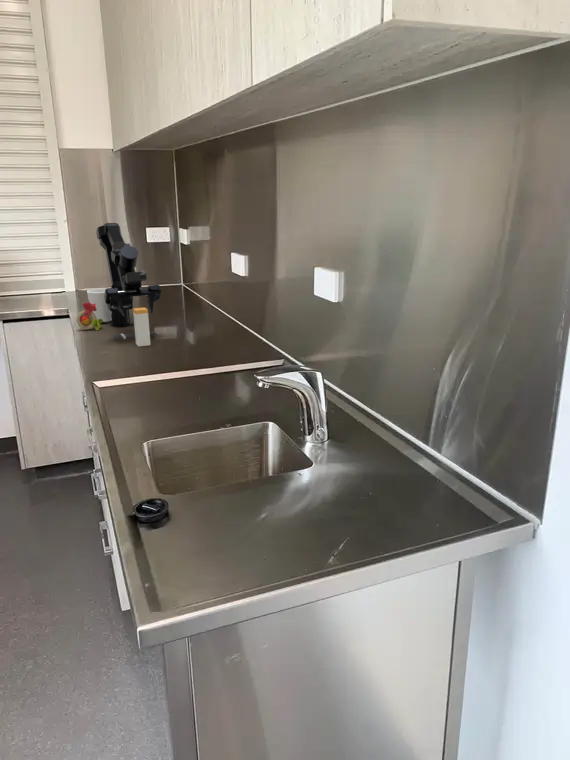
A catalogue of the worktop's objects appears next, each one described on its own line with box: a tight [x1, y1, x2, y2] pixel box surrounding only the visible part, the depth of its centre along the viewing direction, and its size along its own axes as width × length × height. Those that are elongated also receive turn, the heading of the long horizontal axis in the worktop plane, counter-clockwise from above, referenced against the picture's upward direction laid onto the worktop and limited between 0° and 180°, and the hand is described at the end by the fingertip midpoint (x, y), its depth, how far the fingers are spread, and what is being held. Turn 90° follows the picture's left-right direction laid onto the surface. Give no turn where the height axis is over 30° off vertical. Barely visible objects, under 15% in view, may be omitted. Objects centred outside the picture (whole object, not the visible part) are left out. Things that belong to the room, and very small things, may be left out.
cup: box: [86, 287, 113, 324], centre depth 234 cm, size 10×10×13 cm
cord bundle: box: [113, 330, 158, 341], centre depth 212 cm, size 15×5×2 cm, turn 116°
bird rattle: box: [76, 301, 104, 331], centre depth 222 cm, size 6×11×9 cm
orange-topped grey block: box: [132, 307, 151, 347], centre depth 198 cm, size 4×4×12 cm
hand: (138, 314), depth 200 cm, fingers open, 9 cm apart
